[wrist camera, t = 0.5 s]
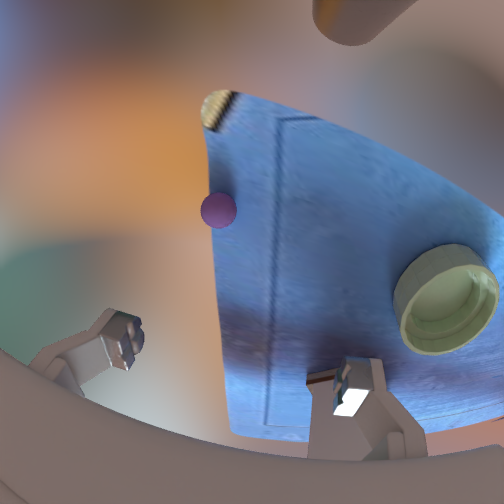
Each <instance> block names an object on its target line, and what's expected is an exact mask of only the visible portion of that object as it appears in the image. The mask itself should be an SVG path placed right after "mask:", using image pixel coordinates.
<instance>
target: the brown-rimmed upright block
mask: <svg viewBox="0 0 504 504" xmlns="http://www.w3.org/2000/svg"><path fill="white" fill-rule="evenodd" d="M374 359H375V358H374ZM339 368H341V367H339ZM339 368H335V369H331V370H326V371H322V372H317V373H312V374H308V375H307V379H306V386H307V387H308V389H309V391H310V392H311V394H312V395H313V398H312V411H311V424H310V435H309V445H308V455H307V458H308V459H322V460H345V461H362V459H363V458H364V457H365V456H366V455H367V454H369V453H370V452H371V451H372V450H373V449H372V448H371V446H370V444H369V443H368V441H367V439H366V438H365V436H364V434H363V433H362V431H361V429H360V428H359V426H358V425H357V423H356V421H355V420H354V418H353V417H354V416H342V415H333V400H334V398H335V396H336V395H335V393H334V392H333V383H334V378H335V374H336V372H337V369H339Z"/></svg>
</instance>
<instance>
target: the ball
mask: <svg viewBox="0 0 504 504" xmlns="http://www.w3.org/2000/svg"><path fill="white" fill-rule="evenodd" d="M236 212H237V208H236V204H235V202H234V200H233V199H232V198H231V197H230V196H229V195H227V194H225V193H219V192H218V193H213V194H210V195H209V196H208V197H206V198H205V200H204V201H203V203H202V205H201V216H202V219H203V220H204V222H205V223H206V224H207V225H209V226H210V227H213V228H224V227H227V226H228V225H230V224H231V223H232V222H233V220H234V219H235V217H236Z"/></svg>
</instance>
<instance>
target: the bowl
mask: <svg viewBox="0 0 504 504" xmlns="http://www.w3.org/2000/svg"><path fill="white" fill-rule="evenodd" d="M498 302H499V284H498V282H497V280H496V277H495V275H494V274H493V272H492V271H491V270H490V268H489V267H488V266H487V265H486V263H485V262H484V261H483V260H482V258H481V257H480V256H479V255H478V254H477V253H476V252H475V251H474V250H472V249H471V248H470V247H467V246H463V245H459V244H448V245H440V246H438V247H436V248H433V249H431V250H429V251H427V252H425V253H423V254H422V255H421V256H419V257H418V258H417V259H416V260H414V261H413V262H412V263H411V264H410V265H409V266H408V268H407V269H406V270H405V271H404V273H403V274H402V275H401V277H400V278H399V281H398V283H397V286H396V288H395V291H394V297H393V308H394V311H395V315H396V318H397V322H398V326H399V329H400V333H401V336H402V339H403V342H404V343H405V344H406V345H407V346H408V347H409V349H410V350H412V351H414V352H417V353H419V354H422V355H440V354H445V353H449V352H452V351H455V350H457V349H459V348H461V347H463V346H465V345H466V344H468V343H469V342H471V341H472V340H473V339H475V338H476V337H477V336H478V335H479V334H480V333H481V332H482V331H483V330H484V329H485V328H486V327H487V325H488V324H489V322H490V320H491V319H492V317H493V315H494V314H495V311H496V308H497V305H498Z"/></svg>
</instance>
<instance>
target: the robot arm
mask: <svg viewBox="0 0 504 504" xmlns="http://www.w3.org/2000/svg"><path fill="white" fill-rule="evenodd" d="M141 325H142V323H141V319H140V318H139V317H137V316H134V315H131V314H127V313H124V312H121V311H117V310H114V309H111V308H108V309H106V310H105V311H104V312H103V313H102V315H101V316H100V317H99V318H98V319H97V321H96V322H95V323H94V324H93V325H92V327H91V328H90V329H89V330H88V331H86V330H85V331H83V332H80V333H78V334H75V335H73V336H71V337H68V338H65V339H63V340H61V341H58V342H56V343H53V344H51V345H49V346H46V347H44V348H42V350H41V351H40V352H39V353H38V354H37V355H36V357H35V358H34V359H33V360H32V361H31V363H30V364H29V365H28V366H26V365H25V364H23V363H22V362H20V361H18V360H17V359H15V358H14V357H13V356H11V355H10V354H8V353H6V352H5V351H4V350H2V349H1V348H0V504H504V448H503V447H502V446H500V445H497V444H494V445H489V446H485V447H480V448H476V449H471V450H466V451H461V452H455V453H450V454H443V455H437V456H429V457H428V453H427V446H426V439H425V433H424V429H423V428H422V427H421V426H420V425H419V424H418V422H417V421H416V420H415V419H414V418H413V417H412V416H411V414H410V413H409V412H408V411H407V410H406V409H405V408H404V406H403V405H402V404H401V403H400V402H399V401H398V400H397V398H396V397H395V396H394V395H393V394H392V393H391V392H387V387H386V381H385V375H384V369H383V363H382V360H381V359H374V358H362V357H351V356H344V357H343V358H342V360H341V368H339V369H337V372H336V374H335V378H334V383H333V392H334V393H335V395H336V396H335V398H334V400H333V415H342V416H354V417H353V418H354V420H355V421H356V423H357V425H358V426H359V428H360V429H361V431H362V433H363V434H364V436H365V438H366V439H367V441H368V443H369V444H370V446H371V448H372V449H373V450H372V451H371V452H370V453H369V454H367V455H366V456H365V457H364V458H363V459H362V461H345V460H322V459H308V458H297V457H288V456H280V455H273V454H267V453H259V452H254V451H249V450H243V449H238V448H233V447H228V446H224V445H219V444H215V443H211V442H207V441H203V440H199V439H195V438H192V437H188V436H185V435H181V434H177V433H174V432H171V431H168V430H165V429H162V428H159V427H156V426H153V425H150V424H147V423H144V422H141V421H139V420H136V419H133V418H131V417H128V416H126V415H123V414H120V413H118V412H115V411H113V410H111V409H109V408H106V407H104V406H102V405H100V404H97V403H95V402H93V401H91V400H89V399H87V398H85V395H84V393H83V391H82V390H81V388H80V386H81V385H82V384H84V383H86V382H87V381H89V380H91V379H92V378H94V377H95V376H97V375H99V374H100V373H102V372H103V371H105V370H106V369H108V368H110V367H111V366H115V367H117V368H120V369H123V370H126V371H129V369H130V367H131V366H132V364H133V362H134V361H135V357H134V355H136V354H138V353H140V351H141V349H142V347H143V343H144V332H143V331H142V329H141V328H140V326H141Z"/></svg>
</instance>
